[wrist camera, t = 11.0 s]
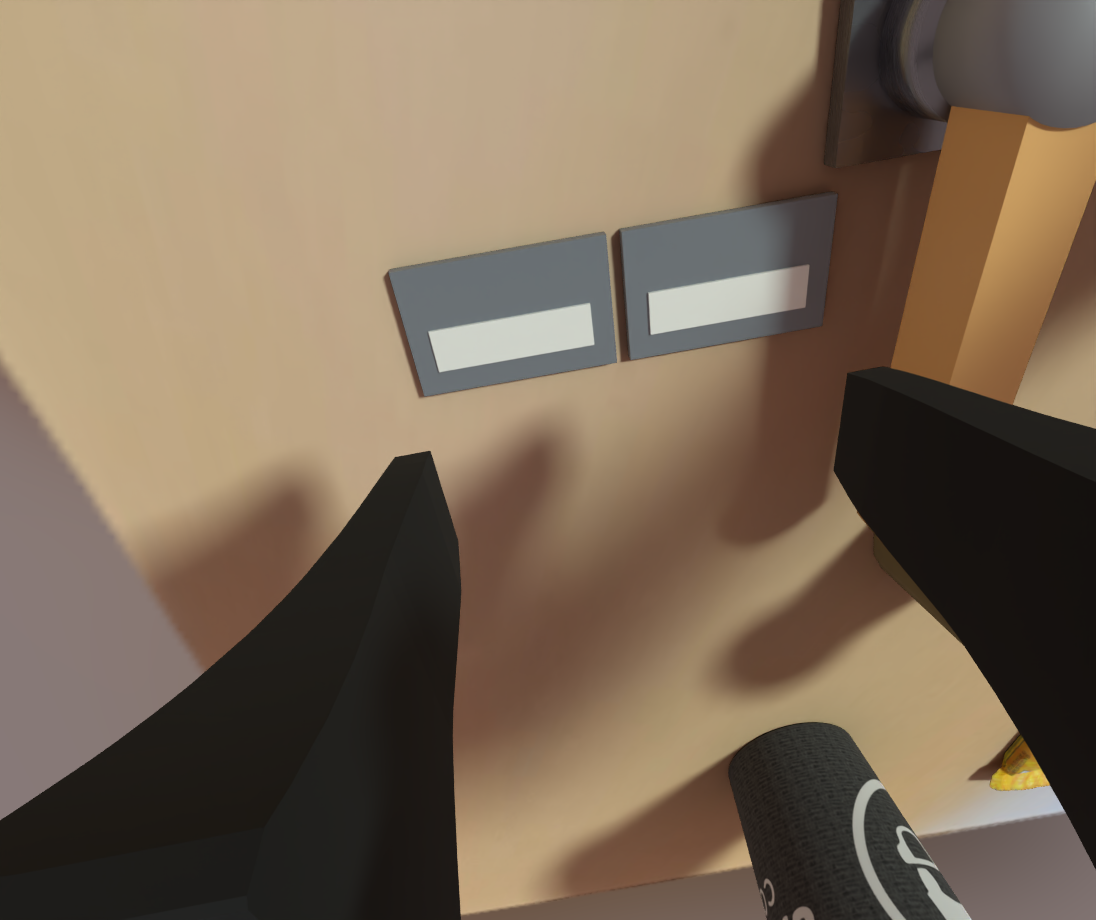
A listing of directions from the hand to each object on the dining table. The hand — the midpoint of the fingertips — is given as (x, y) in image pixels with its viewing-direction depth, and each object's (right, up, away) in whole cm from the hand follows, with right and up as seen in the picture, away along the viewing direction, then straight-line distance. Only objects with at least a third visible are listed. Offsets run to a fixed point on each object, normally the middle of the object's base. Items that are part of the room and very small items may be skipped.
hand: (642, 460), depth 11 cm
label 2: (+3, +5, +6) cm, 9 cm away
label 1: (-3, +4, +6) cm, 8 cm away
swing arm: (+8, +4, +5) cm, 10 cm away
